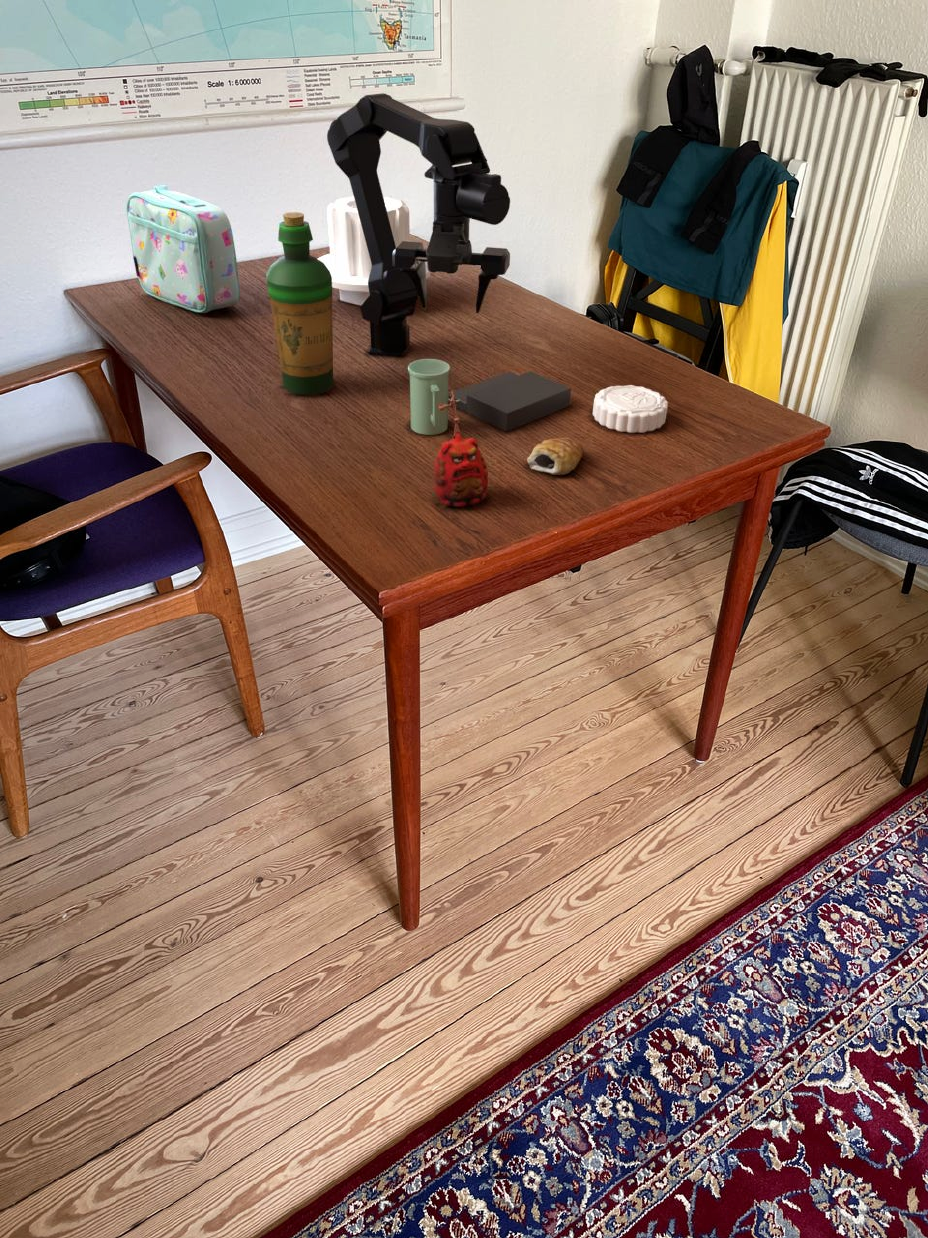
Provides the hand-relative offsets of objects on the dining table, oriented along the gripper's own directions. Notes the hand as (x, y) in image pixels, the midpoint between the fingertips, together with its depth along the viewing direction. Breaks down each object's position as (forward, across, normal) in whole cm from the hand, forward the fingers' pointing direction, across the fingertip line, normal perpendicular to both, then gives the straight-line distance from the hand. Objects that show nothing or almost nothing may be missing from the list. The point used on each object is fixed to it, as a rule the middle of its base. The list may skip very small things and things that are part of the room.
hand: (451, 310), depth 154 cm
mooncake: (+12, +32, -9) cm, 35 cm away
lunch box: (+12, -62, +26) cm, 68 cm away
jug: (+12, +1, -21) cm, 24 cm away
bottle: (+12, -23, -10) cm, 28 cm away
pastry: (+13, +22, -28) cm, 38 cm away
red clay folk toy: (+12, +10, -41) cm, 44 cm away
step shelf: (+12, +12, -8) cm, 19 cm away
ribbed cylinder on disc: (+12, -25, +37) cm, 46 cm away
